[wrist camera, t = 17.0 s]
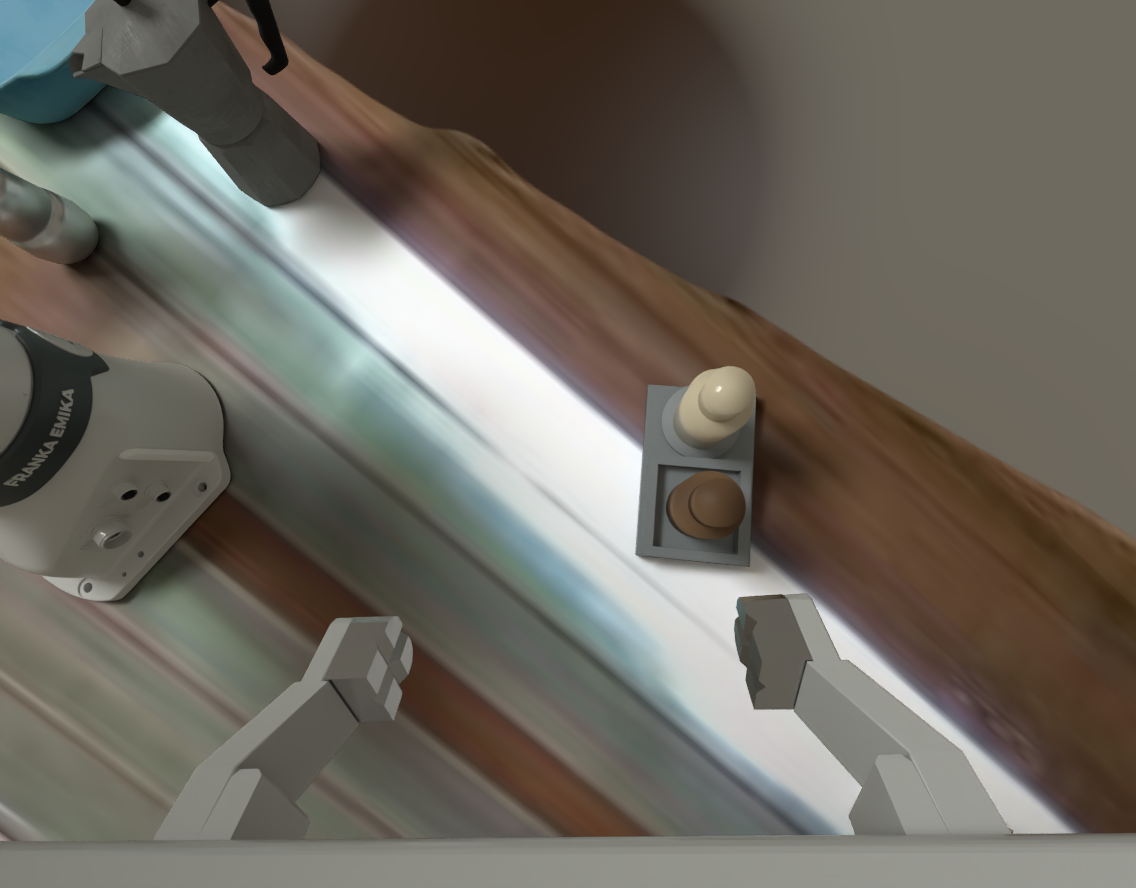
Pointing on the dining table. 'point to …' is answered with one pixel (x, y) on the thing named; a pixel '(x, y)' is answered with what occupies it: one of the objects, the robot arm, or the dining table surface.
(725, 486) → the pepper mill
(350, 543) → the dining table surface
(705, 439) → the cruet stand
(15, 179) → the plastic bottle
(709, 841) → the robot arm
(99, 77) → the coffeepot
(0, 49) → the casserole dish
